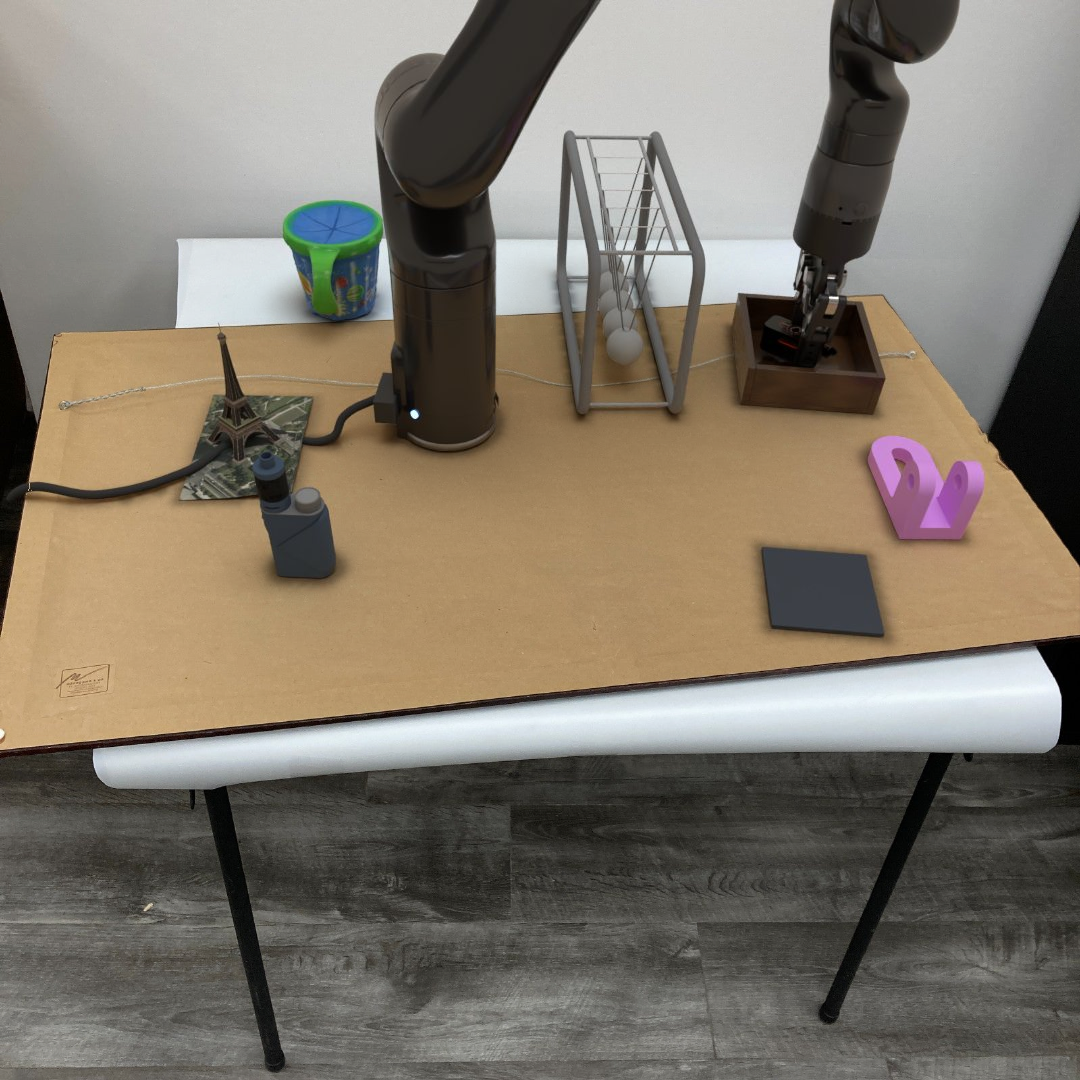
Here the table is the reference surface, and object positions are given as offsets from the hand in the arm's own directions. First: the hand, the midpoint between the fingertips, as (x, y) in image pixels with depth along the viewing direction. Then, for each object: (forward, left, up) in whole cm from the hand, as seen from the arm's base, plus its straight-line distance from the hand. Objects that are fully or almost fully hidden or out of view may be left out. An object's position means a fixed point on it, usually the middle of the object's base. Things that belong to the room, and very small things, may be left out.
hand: (801, 351), depth 104 cm
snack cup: (-51, +6, -2) cm, 51 cm away
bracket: (+8, -19, -2) cm, 21 cm away
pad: (-2, -33, -2) cm, 33 cm away
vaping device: (-45, -35, -2) cm, 57 cm away
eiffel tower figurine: (-54, -20, -2) cm, 57 cm away
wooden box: (0, 0, -2) cm, 2 cm away
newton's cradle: (-20, +3, -2) cm, 20 cm away
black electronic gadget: (0, +1, -1) cm, 1 cm away
